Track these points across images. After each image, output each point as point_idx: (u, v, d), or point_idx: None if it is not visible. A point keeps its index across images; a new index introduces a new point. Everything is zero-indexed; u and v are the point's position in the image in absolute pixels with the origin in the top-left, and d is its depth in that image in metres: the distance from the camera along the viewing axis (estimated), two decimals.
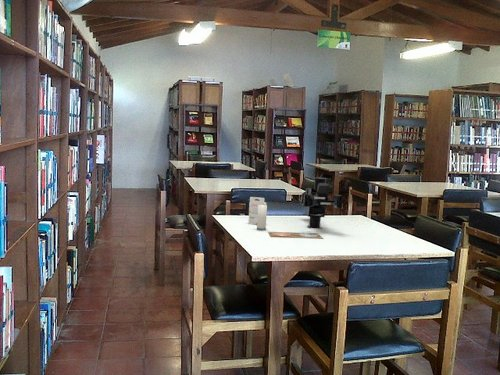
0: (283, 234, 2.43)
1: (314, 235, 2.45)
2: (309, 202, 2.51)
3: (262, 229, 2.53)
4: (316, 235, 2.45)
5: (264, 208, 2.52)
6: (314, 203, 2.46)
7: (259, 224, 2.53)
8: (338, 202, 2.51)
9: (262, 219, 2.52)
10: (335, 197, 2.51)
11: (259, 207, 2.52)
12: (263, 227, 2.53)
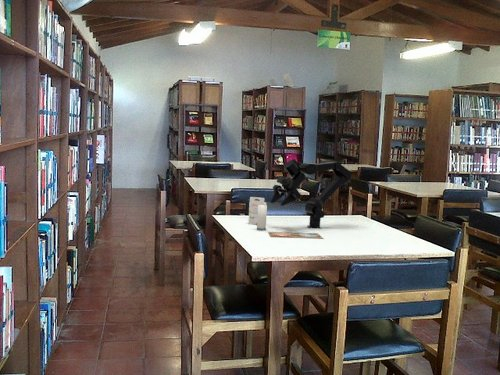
0: (283, 234, 2.43)
1: (314, 235, 2.45)
2: None
3: (262, 229, 2.53)
4: (316, 235, 2.45)
5: (264, 208, 2.52)
6: None
7: (259, 224, 2.53)
8: (292, 197, 2.53)
9: (262, 219, 2.52)
10: (287, 193, 2.53)
11: (259, 207, 2.52)
12: (263, 227, 2.53)
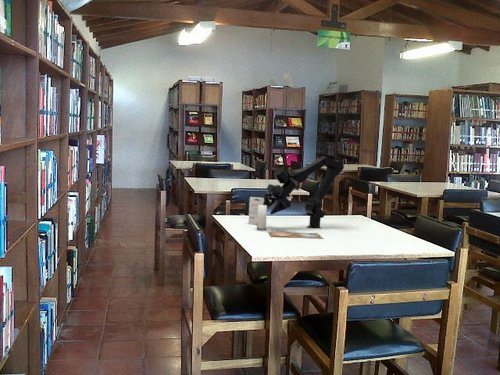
0: (283, 234, 2.43)
1: (314, 235, 2.45)
2: None
3: (262, 229, 2.53)
4: (316, 235, 2.45)
5: (264, 208, 2.52)
6: None
7: (259, 224, 2.53)
8: (282, 205, 2.50)
9: (262, 219, 2.52)
10: (277, 202, 2.51)
11: (259, 207, 2.52)
12: (263, 227, 2.53)
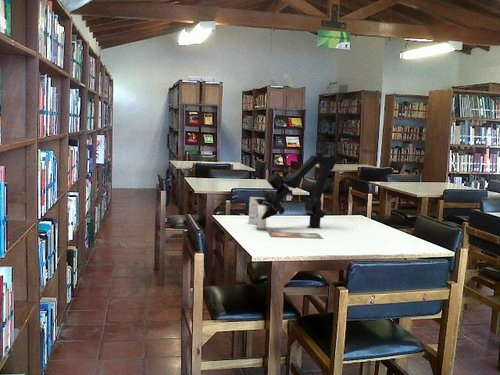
0: (283, 234, 2.43)
1: (314, 235, 2.45)
2: None
3: (262, 229, 2.53)
4: (316, 235, 2.45)
5: (264, 208, 2.52)
6: None
7: (259, 224, 2.52)
8: (273, 210, 2.51)
9: None
10: (268, 207, 2.51)
11: (259, 207, 2.52)
12: (263, 227, 2.53)
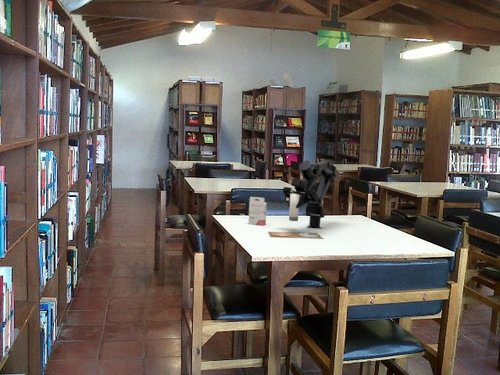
0: (283, 234, 2.43)
1: (314, 235, 2.45)
2: None
3: (296, 218, 2.49)
4: (316, 235, 2.45)
5: (298, 196, 2.48)
6: None
7: (293, 213, 2.49)
8: (307, 198, 2.49)
9: (296, 208, 2.49)
10: (302, 195, 2.49)
11: (293, 196, 2.48)
12: (297, 216, 2.50)
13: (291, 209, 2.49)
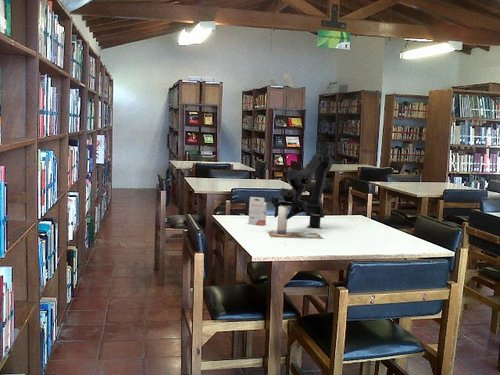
0: (283, 234, 2.43)
1: (314, 235, 2.45)
2: None
3: (284, 231, 2.43)
4: (316, 235, 2.45)
5: (286, 209, 2.42)
6: None
7: (281, 226, 2.42)
8: (297, 209, 2.42)
9: (284, 221, 2.42)
10: (292, 206, 2.41)
11: (281, 208, 2.42)
12: (285, 229, 2.43)
13: (279, 222, 2.43)
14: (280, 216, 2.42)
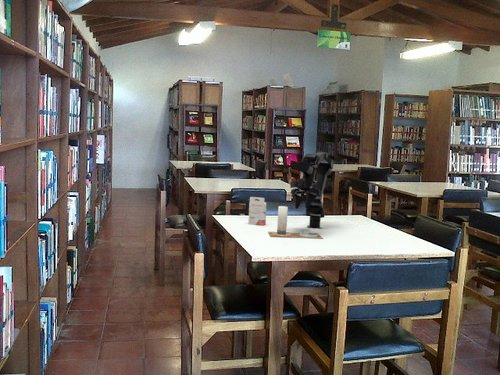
0: None
1: (314, 235, 2.45)
2: None
3: (284, 231, 2.43)
4: (316, 235, 2.45)
5: (286, 209, 2.42)
6: None
7: (281, 226, 2.42)
8: (312, 195, 2.46)
9: (284, 221, 2.42)
10: (306, 194, 2.47)
11: (281, 209, 2.41)
12: (285, 229, 2.43)
13: (279, 222, 2.42)
14: (280, 216, 2.42)
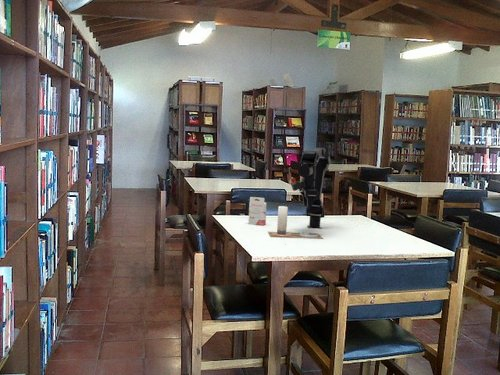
0: None
1: (314, 235, 2.45)
2: None
3: (284, 231, 2.43)
4: (316, 235, 2.45)
5: (286, 209, 2.42)
6: None
7: (281, 226, 2.42)
8: (311, 196, 2.46)
9: (284, 221, 2.42)
10: (305, 196, 2.47)
11: (281, 209, 2.41)
12: (285, 229, 2.43)
13: (279, 222, 2.42)
14: (280, 216, 2.42)
